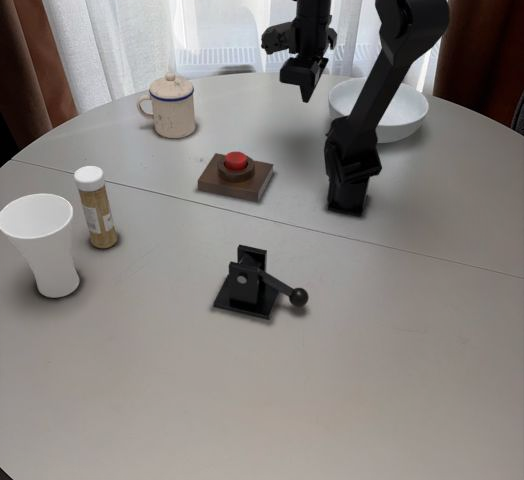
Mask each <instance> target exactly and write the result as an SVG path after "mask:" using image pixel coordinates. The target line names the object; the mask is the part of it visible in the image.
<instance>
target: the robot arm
mask: <svg viewBox="0 0 524 480" xmlns="http://www.w3.org/2000/svg"><path fill="white" fill-rule="evenodd" d="M292 2H296V7H295V9H296V10H295V16H294V18H293V19H292V20H291V21H286V22H281V23H278V24H274V25H271V26H268V27H267V28H266V29H265V30H264V31H263V32H262V34H261V38H260V41H261V44H260V48H261V49H262V50H264V51H265V53H266V55H267V56H270V55H273V54H274V53H278V52H281V51H287V50H288V54H290V55H296V56H295V57H292V56H290V57H288V58H287V59H286V60H285V61H284V62H283V64H282V65H281V67H280V68H279V76H278V78H279V79H278V80H279V82H280V83H281V84H285V85H292V86H298V87H299V91H300V96H301V101H302V102H303V103H306V104H308V103H309V102H310V100H311V99H312V96H313V94H314V92H315V90H316V88H317V85H318V84H319V82H320V80H321V78H322V76H323V74H324V71H325V69H326V67H327V65H328V63H329V61H330V58H329V57H324V56H325V55H326V53H327V51H328V49H329V50H330V51H334V50H335V47H336V46H337V43H338V42H337V41H338V33H337V32H336V30H335V29H334V28H333V27H330V25H331V24H332V21H333V14H331V12H332V11H331V9H332V0H292ZM374 8H375V10H376V11H375V12H376V13H377V16H378V18H379V21H380V26H379V29H378V36H379V41H380V46H381V47H380V51H379V53H378V56H377V57H376V60H375V61H374V63H373V66H372V68H371V70H370V72H369V74H368V75H367V77H368V78H367V80H366V82H365V84H364V86H363V88H362V90H361V92H360V94H359V96H358V99H357V101H356V103H355V105H354V107H353V109H352V111H351V113H350V115H347V116H343V117H339V118H335V119H334V120H333V119H332V121H331V123H330V126H329V129H328V131H327V132H326V133H325V135H324V136H325V137H326V139H325V141H324V147H323V156H324V168H325V169H324V170H325V175H326V176H327V177H328V182H329V184H328V190H327V197H326V198H327V199H326V200H327V202H328V204H327V207H326V208H327V210H328V211H332V212H336V213H342V214H347V215H352V216H356V217H362V216H363V213H364V210H365V207H366V204H367V201H368V196H369V195H368V189H369V185H370V179H371V178H372V177H377V176H379V175H380V173H381V172H382V170H383V165H382V161H381V159H380V154H379V151H378V148H377V144H378V143H377V142H378V137H377V133H376V127H377V126H378V124H379V122H380V120H381V119H382V117H383V115H384V113H385V111H386V110H387V108H388V106H389V104H390V103H391V101H392V99H393V97H394V95H395V94H396V92H397V90H398V88H399V87H400V85H401V83H403V81H404V80H405V78H406V76H407V75H408V72H409V70H410V69H411V67H412V65H414V63H415V62H416V61H417V60H418V59H420V58H421V57H422V56H423V55H425V54H426V53H427V52H429V51H430V50H431V49H432V48H434V47H435V45H436V44H437V43H438V42H439V40H440V39H441V38H442V37H443V36H444V34H445V33H446V32H447V30H448V28H449V25H450V22H451V9H450V5H449V2H448V0H374Z"/></svg>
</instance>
